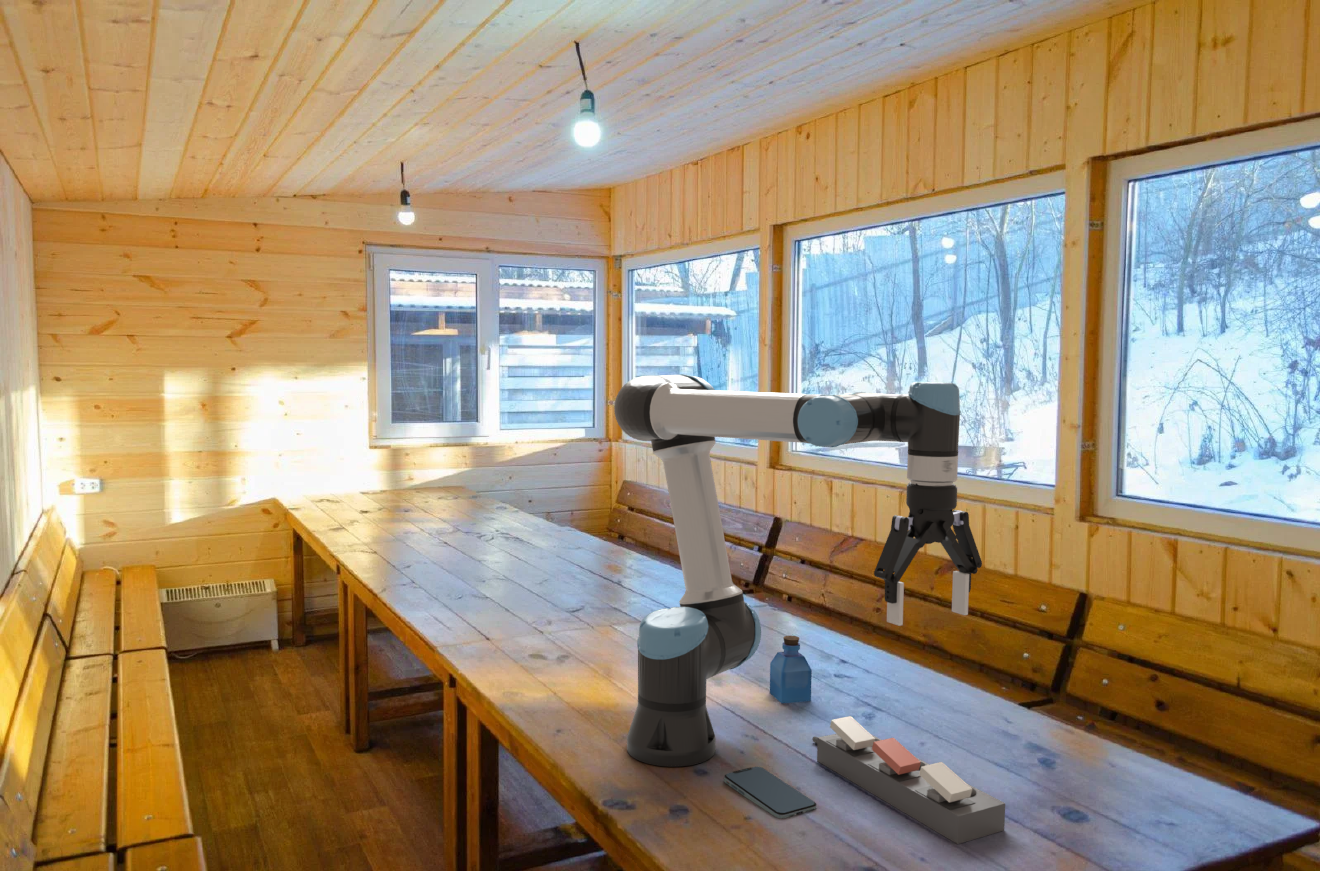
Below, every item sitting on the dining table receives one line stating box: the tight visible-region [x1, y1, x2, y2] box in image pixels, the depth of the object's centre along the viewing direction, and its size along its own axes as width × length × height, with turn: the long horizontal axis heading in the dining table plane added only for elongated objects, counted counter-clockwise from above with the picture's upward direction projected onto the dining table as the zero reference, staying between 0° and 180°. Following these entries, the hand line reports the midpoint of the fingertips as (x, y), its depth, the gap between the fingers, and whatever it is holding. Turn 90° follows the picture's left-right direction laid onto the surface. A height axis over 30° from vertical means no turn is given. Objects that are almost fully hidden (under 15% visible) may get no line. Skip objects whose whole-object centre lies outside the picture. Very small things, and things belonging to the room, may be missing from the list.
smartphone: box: [723, 766, 817, 819], centre depth 154 cm, size 8×2×15 cm
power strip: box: [812, 733, 1006, 845], centre depth 158 cm, size 39×9×5 cm, turn 28°
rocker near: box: [919, 761, 972, 803], centre depth 144 cm, size 6×4×1 cm, turn 28°
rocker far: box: [829, 715, 875, 750], centre depth 163 cm, size 6×4×1 cm, turn 28°
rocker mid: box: [872, 737, 921, 775], centre depth 153 cm, size 6×4×1 cm, turn 28°
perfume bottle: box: [769, 635, 813, 704], centre depth 198 cm, size 6×6×12 cm
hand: (927, 618), depth 155 cm, fingers open, 13 cm apart
